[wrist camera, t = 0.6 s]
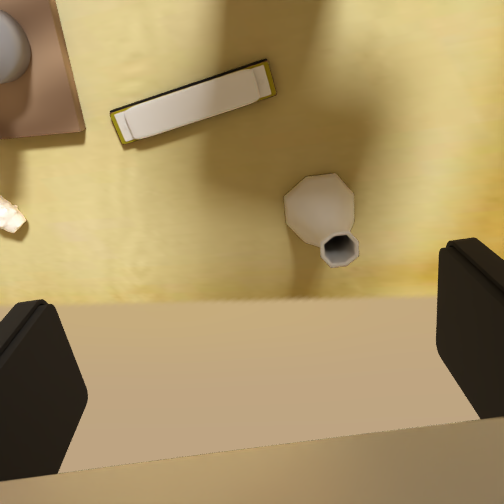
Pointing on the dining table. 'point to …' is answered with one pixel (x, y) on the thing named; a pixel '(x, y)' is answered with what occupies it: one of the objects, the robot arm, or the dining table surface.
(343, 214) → the flask
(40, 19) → the board
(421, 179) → the dining table surface
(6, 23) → the dial knob with pointer
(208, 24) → the dining table surface
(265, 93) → the harmonica
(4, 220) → the seated beast figurine
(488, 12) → the dining table surface
